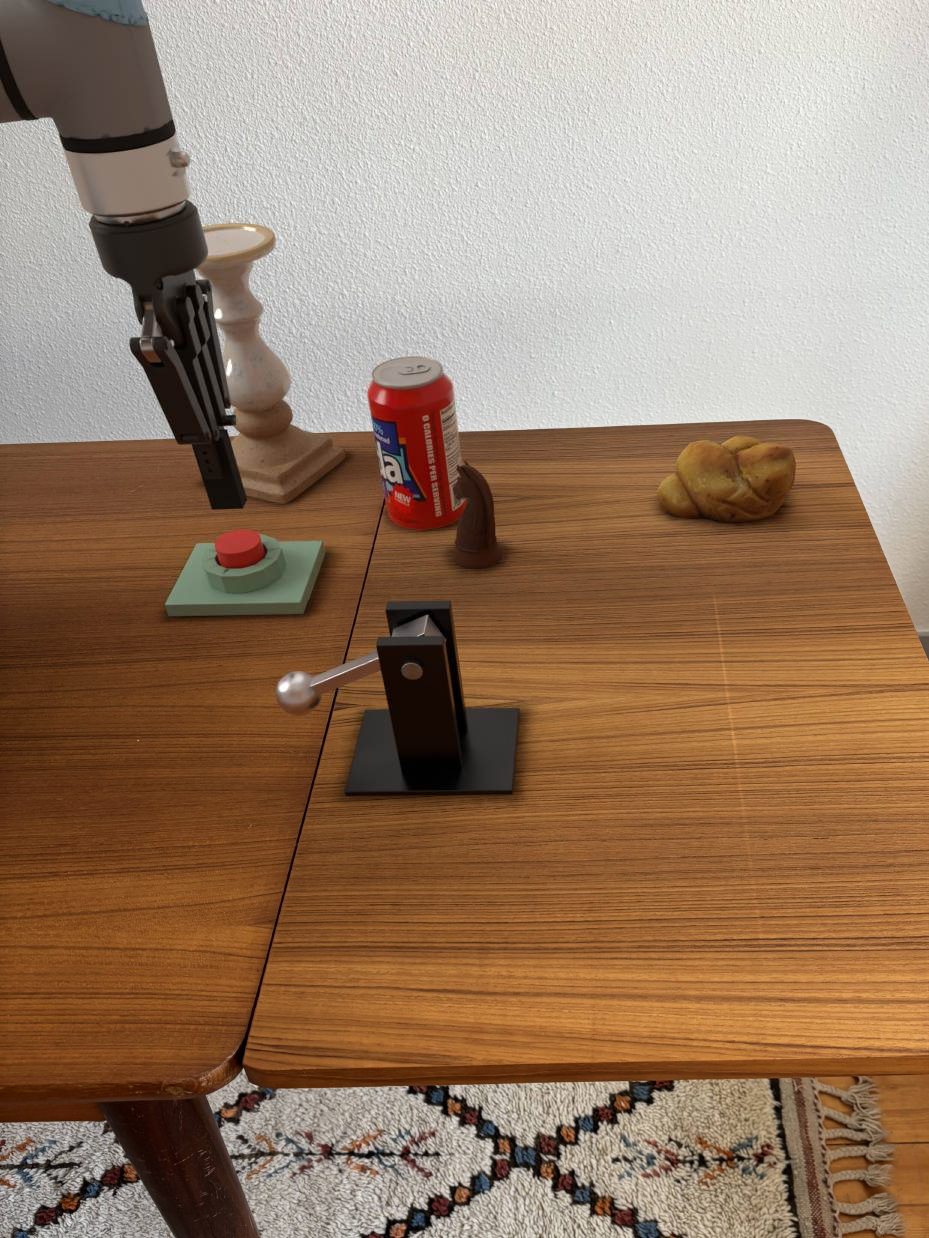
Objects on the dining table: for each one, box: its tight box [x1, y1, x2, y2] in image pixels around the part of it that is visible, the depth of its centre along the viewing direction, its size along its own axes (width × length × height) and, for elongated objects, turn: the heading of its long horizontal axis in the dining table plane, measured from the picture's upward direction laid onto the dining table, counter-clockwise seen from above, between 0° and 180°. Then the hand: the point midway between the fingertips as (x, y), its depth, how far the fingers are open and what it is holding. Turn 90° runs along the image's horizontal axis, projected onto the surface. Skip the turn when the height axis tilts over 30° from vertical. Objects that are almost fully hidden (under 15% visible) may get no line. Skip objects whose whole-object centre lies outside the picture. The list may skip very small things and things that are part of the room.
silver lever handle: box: [274, 615, 446, 717], centre depth 73 cm, size 13×3×3 cm, turn 88°
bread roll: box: [656, 434, 797, 523], centre depth 101 cm, size 13×10×8 cm
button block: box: [164, 533, 326, 617], centre depth 95 cm, size 12×10×4 cm
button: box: [214, 528, 265, 569], centre depth 93 cm, size 4×4×2 cm
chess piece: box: [452, 460, 502, 570], centre depth 95 cm, size 5×5×10 cm
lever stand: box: [344, 600, 521, 797], centre depth 74 cm, size 12×9×13 cm
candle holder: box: [194, 222, 346, 505], centre depth 104 cm, size 11×11×24 cm
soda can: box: [366, 355, 468, 531], centre depth 100 cm, size 8×8×15 cm
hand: (229, 504), depth 90 cm, fingers closed
